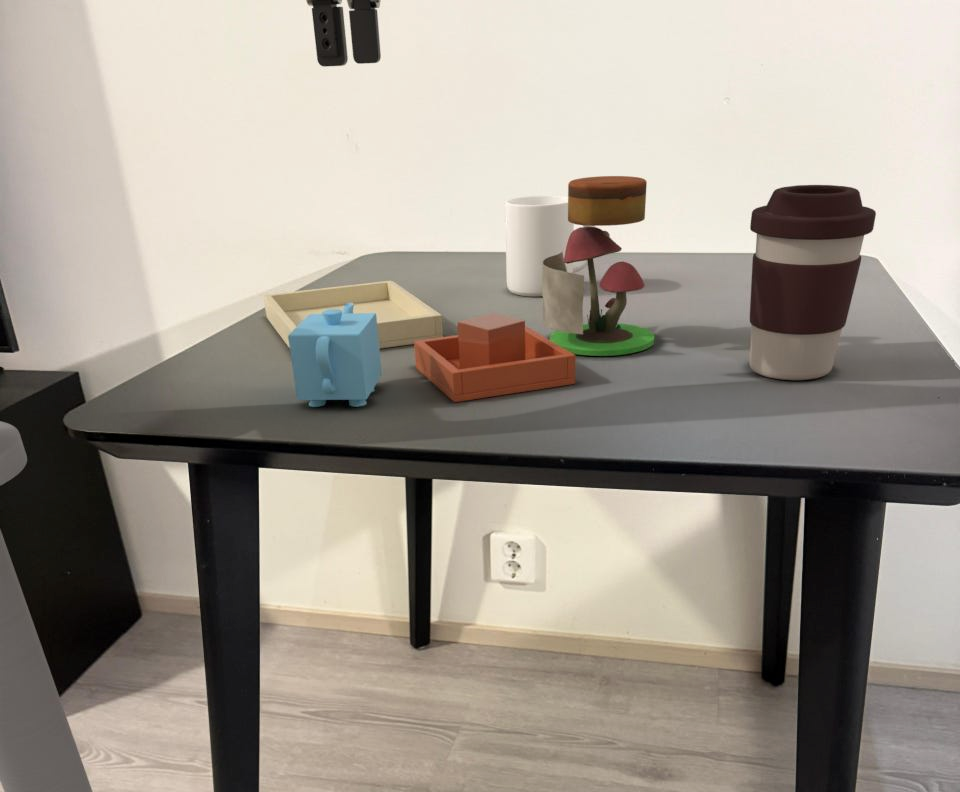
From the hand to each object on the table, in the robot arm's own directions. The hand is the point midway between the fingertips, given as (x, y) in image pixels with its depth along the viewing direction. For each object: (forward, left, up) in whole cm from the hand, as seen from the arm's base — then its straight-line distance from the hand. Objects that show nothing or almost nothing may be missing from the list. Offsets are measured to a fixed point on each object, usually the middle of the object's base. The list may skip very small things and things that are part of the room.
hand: (351, 64), depth 74 cm
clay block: (+10, -5, -25) cm, 27 cm away
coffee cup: (+35, -16, -25) cm, 46 cm away
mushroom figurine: (+24, +1, -25) cm, 35 cm away
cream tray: (+2, +19, -25) cm, 32 cm away
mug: (+30, +26, -25) cm, 47 cm away
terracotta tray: (+10, -5, -25) cm, 27 cm away
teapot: (-4, -4, -25) cm, 26 cm away
